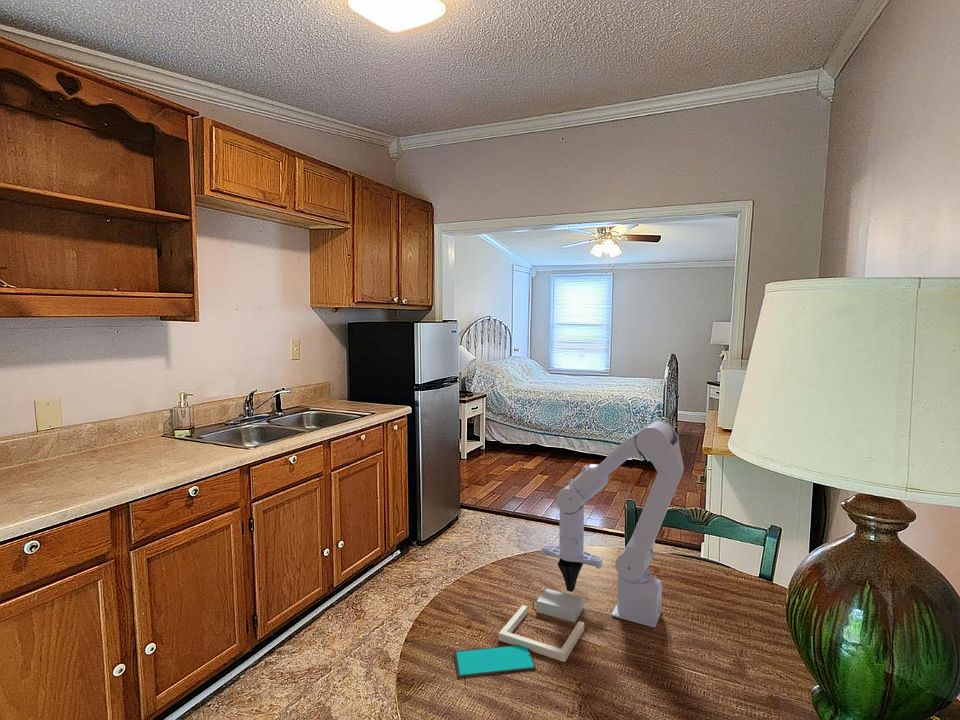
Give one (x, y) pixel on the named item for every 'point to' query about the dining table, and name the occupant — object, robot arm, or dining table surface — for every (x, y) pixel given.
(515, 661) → the smartphone
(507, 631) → the cream u-shaped bracket
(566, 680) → the dining table surface
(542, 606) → the light gray box
